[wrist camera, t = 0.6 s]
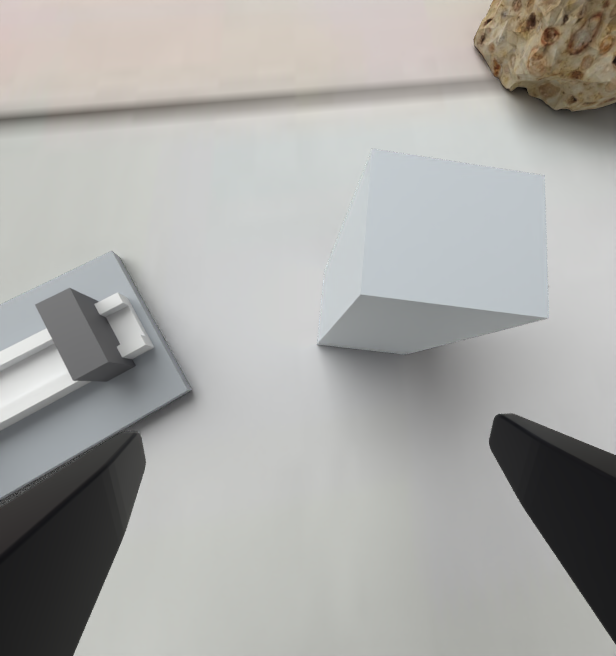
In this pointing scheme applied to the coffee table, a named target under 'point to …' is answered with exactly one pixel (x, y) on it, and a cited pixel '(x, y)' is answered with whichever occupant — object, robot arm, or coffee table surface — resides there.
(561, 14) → the rock
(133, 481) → the robot arm
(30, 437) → the rail
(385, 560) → the coffee table surface
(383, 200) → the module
